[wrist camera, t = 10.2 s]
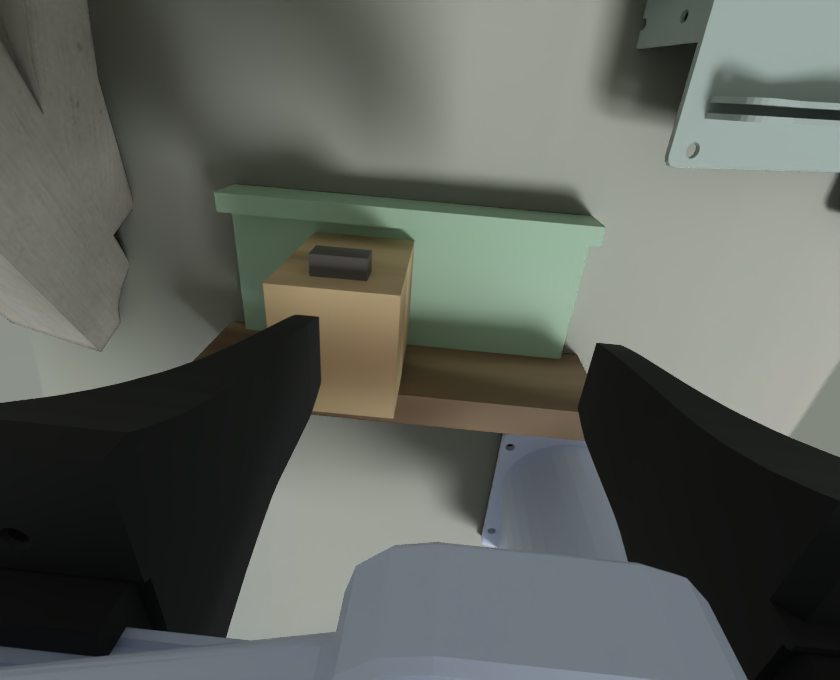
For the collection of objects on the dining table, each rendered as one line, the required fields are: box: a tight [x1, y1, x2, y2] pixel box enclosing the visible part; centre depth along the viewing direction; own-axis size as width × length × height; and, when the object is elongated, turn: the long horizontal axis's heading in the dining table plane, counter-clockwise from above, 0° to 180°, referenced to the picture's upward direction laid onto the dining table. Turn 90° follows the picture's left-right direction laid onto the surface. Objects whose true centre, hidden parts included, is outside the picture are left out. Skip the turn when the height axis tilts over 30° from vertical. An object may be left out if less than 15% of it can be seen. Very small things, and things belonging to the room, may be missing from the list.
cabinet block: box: [263, 232, 415, 419], centre depth 19 cm, size 6×4×6 cm
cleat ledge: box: [214, 184, 606, 359], centre depth 21 cm, size 7×16×2 cm, turn 86°
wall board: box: [194, 322, 587, 441], centre depth 22 cm, size 2×18×5 cm, turn 85°
